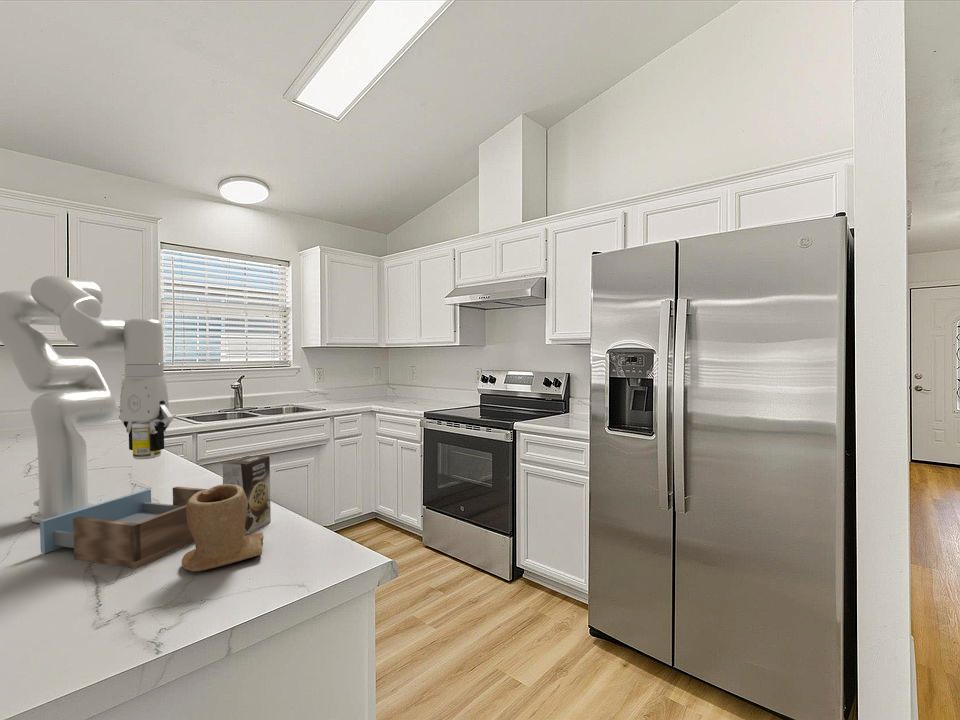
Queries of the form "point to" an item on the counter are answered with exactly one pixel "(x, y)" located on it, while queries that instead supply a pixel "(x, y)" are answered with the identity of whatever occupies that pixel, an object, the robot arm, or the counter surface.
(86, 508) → the tray
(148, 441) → the supplement bottle
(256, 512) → the coffee box
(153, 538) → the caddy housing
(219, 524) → the stone cup
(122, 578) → the counter surface
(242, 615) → the counter surface
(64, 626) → the counter surface
